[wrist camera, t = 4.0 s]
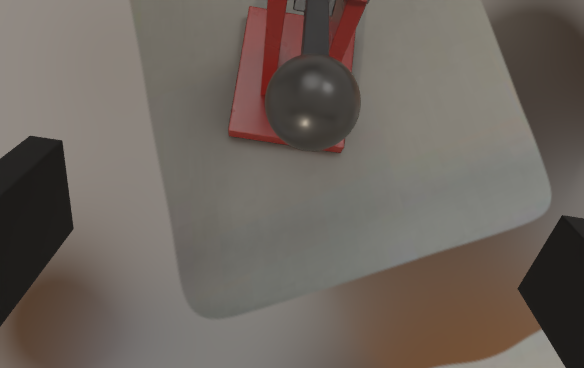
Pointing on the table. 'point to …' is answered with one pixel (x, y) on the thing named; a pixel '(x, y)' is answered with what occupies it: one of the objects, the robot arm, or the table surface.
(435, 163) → the table surface
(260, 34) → the bracket
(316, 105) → the lever
